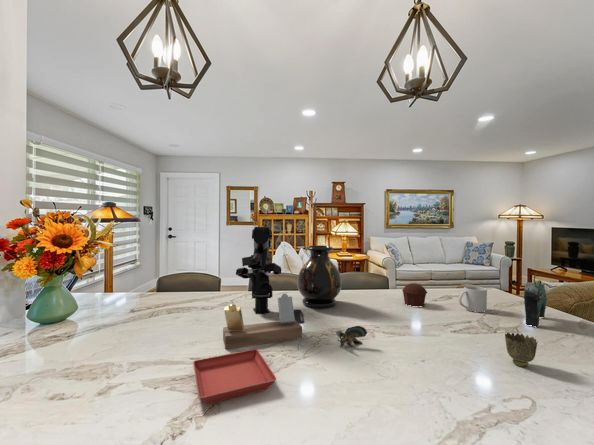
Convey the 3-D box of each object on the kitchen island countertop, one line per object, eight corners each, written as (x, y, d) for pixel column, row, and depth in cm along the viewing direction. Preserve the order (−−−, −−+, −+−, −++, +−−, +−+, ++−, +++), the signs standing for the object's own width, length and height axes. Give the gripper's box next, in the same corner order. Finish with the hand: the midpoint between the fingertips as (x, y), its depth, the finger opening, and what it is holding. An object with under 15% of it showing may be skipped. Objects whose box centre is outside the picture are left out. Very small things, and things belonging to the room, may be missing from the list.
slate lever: (279, 323, 104) (276, 294, 108) (293, 321, 106) (289, 293, 110) (281, 322, 102) (278, 293, 106) (295, 320, 104) (291, 292, 108)
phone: (301, 309, 131) (303, 321, 116) (301, 312, 131) (303, 324, 116) (283, 309, 131) (284, 321, 116) (283, 312, 131) (284, 324, 116)
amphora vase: (344, 311, 132) (345, 249, 131) (296, 310, 132) (297, 248, 132) (338, 298, 153) (338, 244, 153) (297, 297, 154) (297, 244, 153)
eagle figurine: (352, 350, 90) (372, 338, 95) (341, 328, 92) (361, 318, 97) (340, 355, 96) (359, 343, 101) (329, 334, 98) (348, 324, 103)
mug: (486, 308, 136) (486, 287, 136) (486, 314, 128) (486, 291, 128) (459, 305, 142) (460, 284, 142) (458, 310, 134) (458, 288, 134)
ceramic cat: (539, 330, 111) (540, 277, 110) (518, 325, 116) (519, 274, 115) (549, 318, 124) (550, 271, 124) (530, 314, 129) (530, 269, 128)
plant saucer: (198, 412, 63) (198, 397, 63) (192, 372, 80) (192, 359, 80) (277, 393, 70) (277, 379, 70) (257, 359, 87) (257, 348, 87)
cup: (539, 374, 79) (539, 344, 79) (505, 367, 83) (506, 338, 83) (534, 363, 85) (535, 335, 85) (503, 356, 89) (504, 330, 89)
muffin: (400, 300, 150) (400, 281, 149) (422, 301, 148) (423, 281, 148) (405, 307, 138) (405, 286, 138) (430, 308, 136) (430, 287, 136)
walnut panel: (223, 339, 101) (223, 327, 101) (294, 330, 109) (294, 319, 109) (225, 348, 93) (225, 336, 93) (302, 338, 102) (302, 327, 101)
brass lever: (230, 325, 99) (225, 302, 95) (244, 326, 98) (240, 302, 94) (227, 330, 97) (222, 307, 93) (242, 331, 96) (238, 308, 92)
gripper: (229, 250, 118) (222, 288, 110) (267, 243, 109) (262, 284, 102) (247, 260, 126) (241, 296, 119) (283, 254, 117) (280, 292, 110)
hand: (255, 292), depth 112 cm, fingers closed
